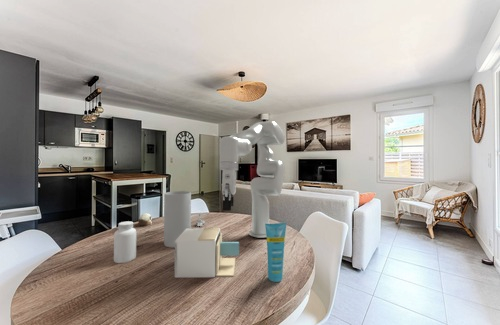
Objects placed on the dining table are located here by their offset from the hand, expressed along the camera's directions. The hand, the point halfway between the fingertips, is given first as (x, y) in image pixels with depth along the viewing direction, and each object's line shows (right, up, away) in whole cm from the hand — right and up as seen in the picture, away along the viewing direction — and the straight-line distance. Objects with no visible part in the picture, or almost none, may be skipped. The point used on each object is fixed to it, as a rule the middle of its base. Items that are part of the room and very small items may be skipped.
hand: (228, 208), depth 85 cm
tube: (+18, -22, -14) cm, 31 cm away
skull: (-61, -23, +46) cm, 79 cm away
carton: (-7, -21, -6) cm, 23 cm away
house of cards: (-21, -22, +47) cm, 56 cm away
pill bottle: (-42, -21, 0) cm, 48 cm away
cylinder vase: (-27, -21, +17) cm, 39 cm away
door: (+1, -20, -2) cm, 20 cm away
